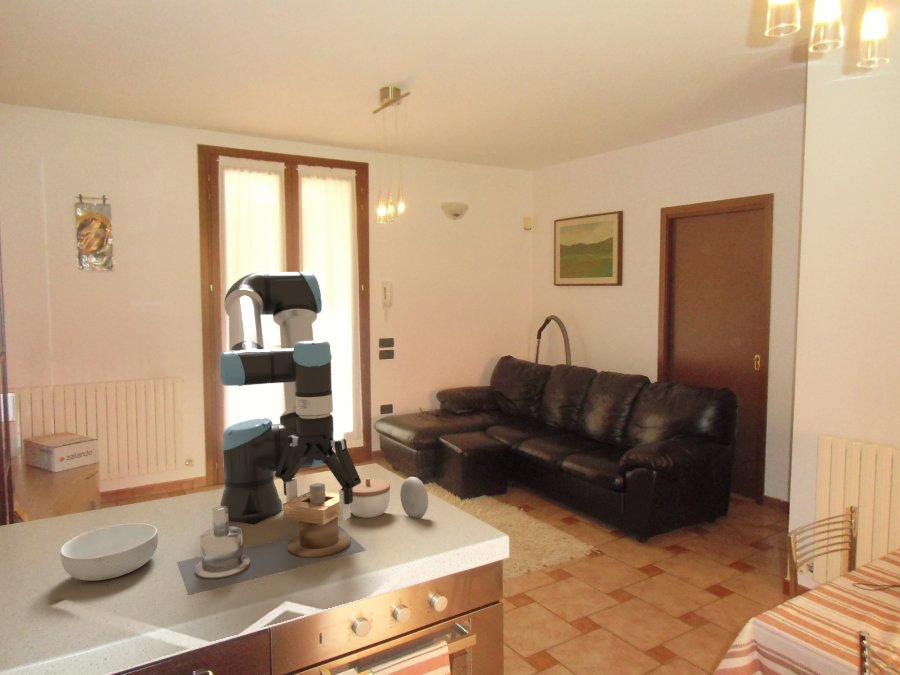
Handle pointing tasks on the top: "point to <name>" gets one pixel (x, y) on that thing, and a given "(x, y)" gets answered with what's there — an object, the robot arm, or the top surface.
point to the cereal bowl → (109, 551)
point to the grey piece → (414, 497)
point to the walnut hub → (318, 533)
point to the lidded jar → (370, 498)
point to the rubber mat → (258, 563)
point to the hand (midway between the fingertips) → (318, 514)
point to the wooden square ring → (312, 509)
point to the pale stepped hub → (221, 549)
